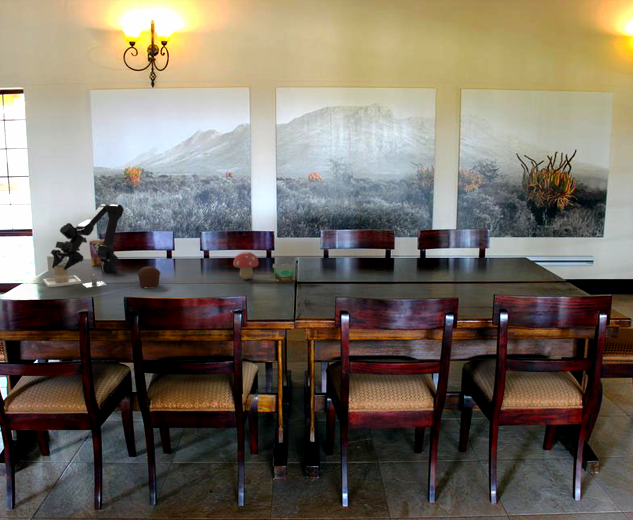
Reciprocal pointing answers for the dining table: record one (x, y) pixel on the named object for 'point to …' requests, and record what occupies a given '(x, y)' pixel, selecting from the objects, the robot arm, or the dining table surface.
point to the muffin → (149, 276)
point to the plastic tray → (52, 283)
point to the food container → (283, 272)
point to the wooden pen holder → (61, 274)
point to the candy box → (95, 251)
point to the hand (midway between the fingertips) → (58, 268)
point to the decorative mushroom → (246, 264)
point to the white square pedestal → (94, 282)
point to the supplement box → (50, 264)
